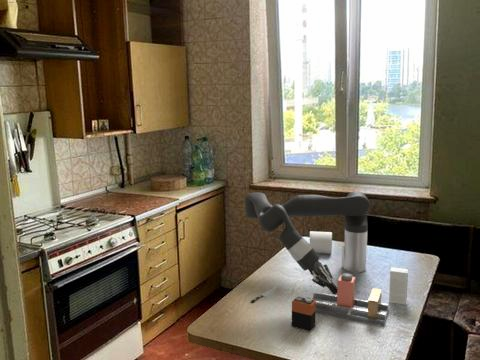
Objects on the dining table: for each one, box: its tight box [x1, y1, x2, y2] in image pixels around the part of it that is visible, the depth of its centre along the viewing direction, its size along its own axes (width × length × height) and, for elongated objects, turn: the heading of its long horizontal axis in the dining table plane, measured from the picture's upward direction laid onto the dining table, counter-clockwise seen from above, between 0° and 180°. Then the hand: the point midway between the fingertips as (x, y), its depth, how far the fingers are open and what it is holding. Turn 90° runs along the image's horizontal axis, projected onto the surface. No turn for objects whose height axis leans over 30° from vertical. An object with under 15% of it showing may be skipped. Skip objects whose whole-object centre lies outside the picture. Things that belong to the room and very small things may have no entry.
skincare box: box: [388, 266, 409, 305], centre depth 167 cm, size 6×4×12 cm
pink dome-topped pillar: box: [336, 272, 356, 307], centre depth 160 cm, size 5×5×11 cm
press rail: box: [311, 288, 390, 326], centre depth 161 cm, size 26×12×8 cm, turn 66°
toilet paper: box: [309, 230, 333, 255], centre depth 218 cm, size 10×10×10 cm
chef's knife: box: [250, 285, 277, 304], centre depth 175 cm, size 19×1×3 cm
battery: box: [291, 295, 317, 332], centre depth 150 cm, size 4×7×10 cm, turn 60°
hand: (336, 292), depth 161 cm, fingers closed
